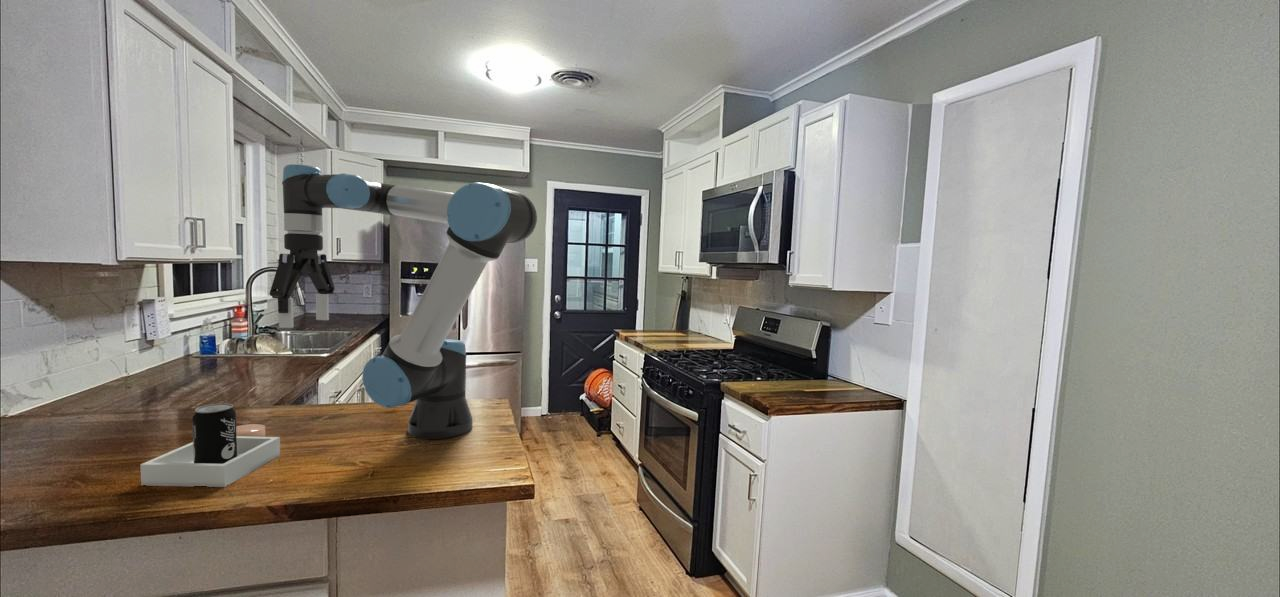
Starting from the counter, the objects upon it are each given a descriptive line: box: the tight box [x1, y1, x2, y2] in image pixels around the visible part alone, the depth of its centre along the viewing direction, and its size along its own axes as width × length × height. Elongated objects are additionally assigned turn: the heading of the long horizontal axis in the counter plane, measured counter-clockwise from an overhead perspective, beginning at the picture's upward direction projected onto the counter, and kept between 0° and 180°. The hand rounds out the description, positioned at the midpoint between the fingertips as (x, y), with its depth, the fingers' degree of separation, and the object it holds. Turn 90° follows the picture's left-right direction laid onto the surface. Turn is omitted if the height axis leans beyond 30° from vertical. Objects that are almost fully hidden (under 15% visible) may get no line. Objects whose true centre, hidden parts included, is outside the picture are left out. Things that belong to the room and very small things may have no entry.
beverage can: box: [191, 402, 237, 464], centre depth 100 cm, size 7×7×12 cm
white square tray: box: [139, 436, 281, 488], centre depth 100 cm, size 15×15×4 cm
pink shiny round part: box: [236, 423, 266, 437], centre depth 114 cm, size 8×8×3 cm
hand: (305, 323), depth 119 cm, fingers open, 13 cm apart
